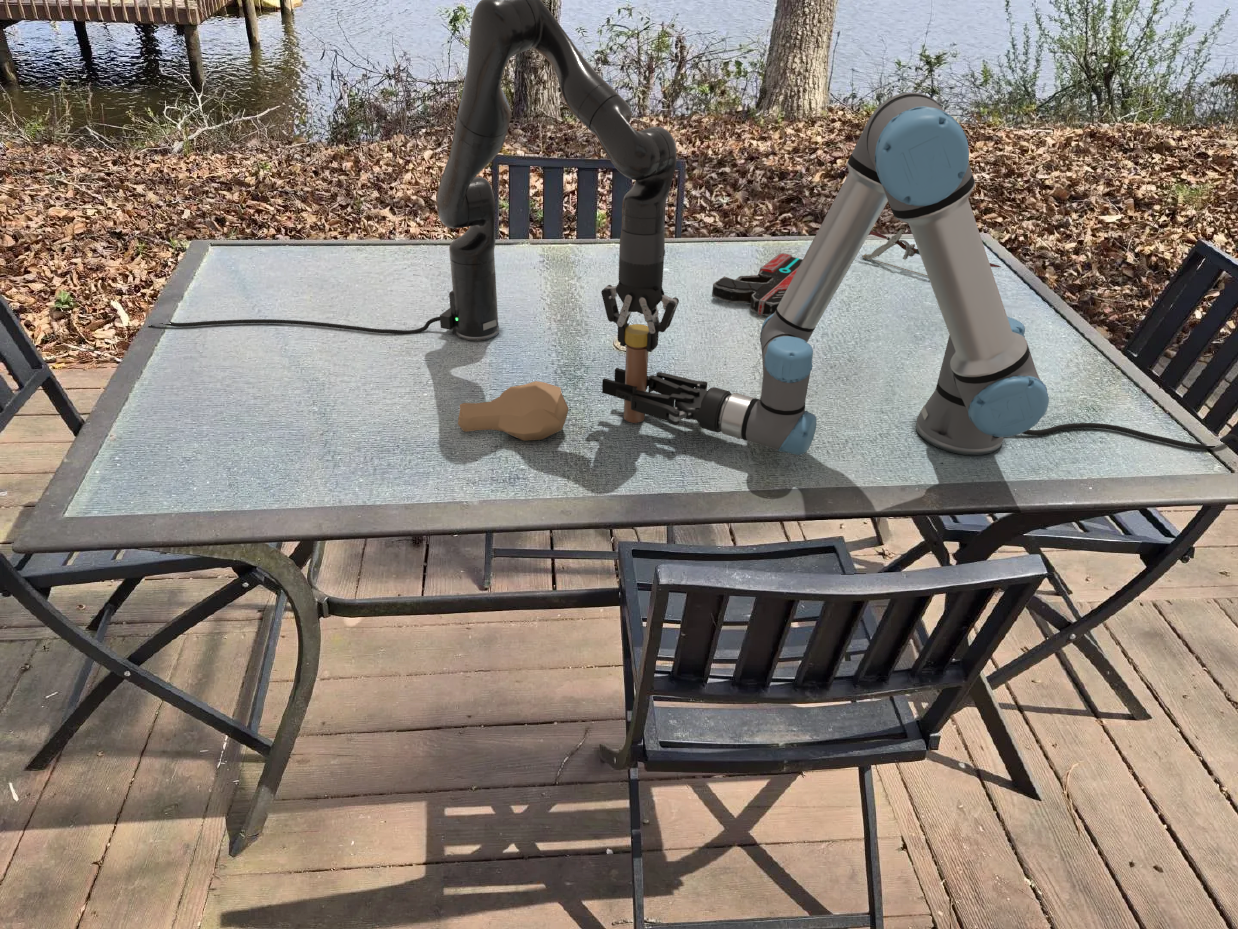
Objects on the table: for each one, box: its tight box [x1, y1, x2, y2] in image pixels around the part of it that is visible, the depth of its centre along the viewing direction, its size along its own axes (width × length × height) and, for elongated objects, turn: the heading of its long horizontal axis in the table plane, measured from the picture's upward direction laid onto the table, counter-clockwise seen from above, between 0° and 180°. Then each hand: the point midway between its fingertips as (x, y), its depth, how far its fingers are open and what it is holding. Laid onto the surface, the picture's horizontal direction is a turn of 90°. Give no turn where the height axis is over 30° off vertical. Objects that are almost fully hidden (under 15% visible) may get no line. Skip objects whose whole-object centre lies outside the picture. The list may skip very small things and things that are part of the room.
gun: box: [711, 252, 803, 317], centre depth 215 cm, size 4×31×19 cm
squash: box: [457, 380, 570, 442], centre depth 157 cm, size 11×20×9 cm, turn 90°
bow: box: [861, 228, 1002, 277], centre depth 225 cm, size 39×2×10 cm, turn 47°
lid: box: [625, 323, 649, 347], centre depth 155 cm, size 5×5×2 cm
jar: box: [623, 344, 649, 424], centre depth 159 cm, size 4×4×17 cm
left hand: (637, 346), depth 156 cm, fingers closed on lid, 4 cm apart
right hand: (609, 380), depth 162 cm, fingers closed on jar, 4 cm apart
